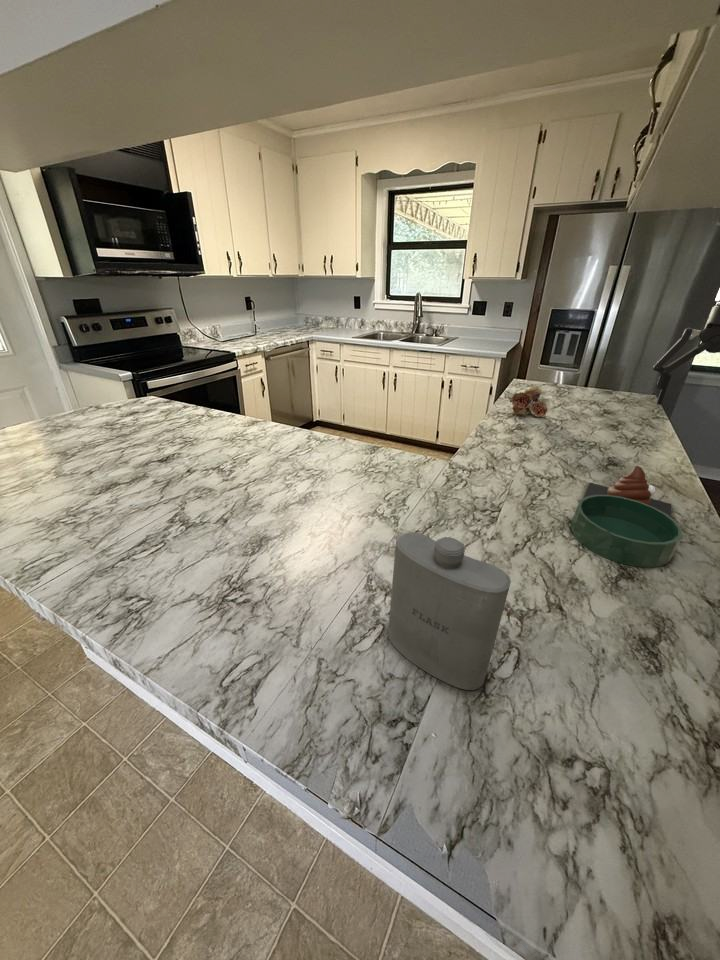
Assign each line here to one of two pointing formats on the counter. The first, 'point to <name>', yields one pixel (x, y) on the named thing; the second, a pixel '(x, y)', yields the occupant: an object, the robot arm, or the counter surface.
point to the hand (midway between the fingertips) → (695, 408)
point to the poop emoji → (633, 487)
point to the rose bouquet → (529, 402)
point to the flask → (445, 608)
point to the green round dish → (626, 530)
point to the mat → (602, 490)
